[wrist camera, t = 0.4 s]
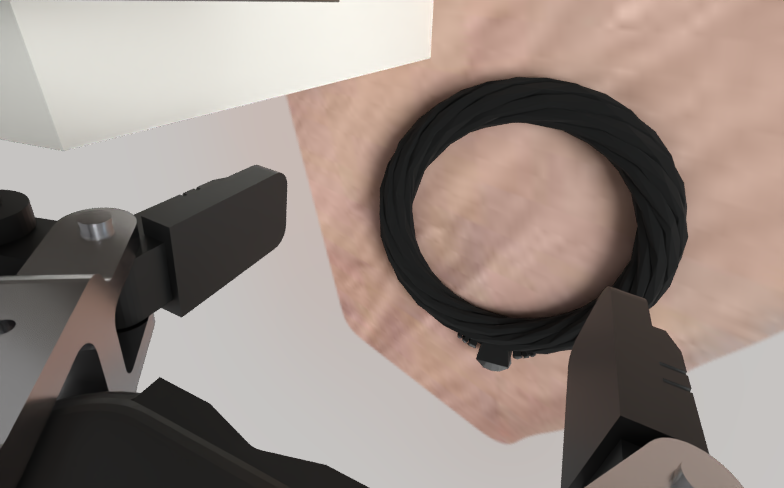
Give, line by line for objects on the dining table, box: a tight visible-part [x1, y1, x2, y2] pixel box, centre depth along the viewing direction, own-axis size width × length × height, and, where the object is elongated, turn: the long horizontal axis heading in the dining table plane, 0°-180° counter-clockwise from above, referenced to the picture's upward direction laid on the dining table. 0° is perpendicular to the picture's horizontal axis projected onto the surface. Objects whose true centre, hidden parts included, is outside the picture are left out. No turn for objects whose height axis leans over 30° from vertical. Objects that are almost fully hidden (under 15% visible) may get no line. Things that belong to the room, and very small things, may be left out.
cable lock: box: [380, 77, 688, 371], centre depth 41 cm, size 28×4×30 cm
